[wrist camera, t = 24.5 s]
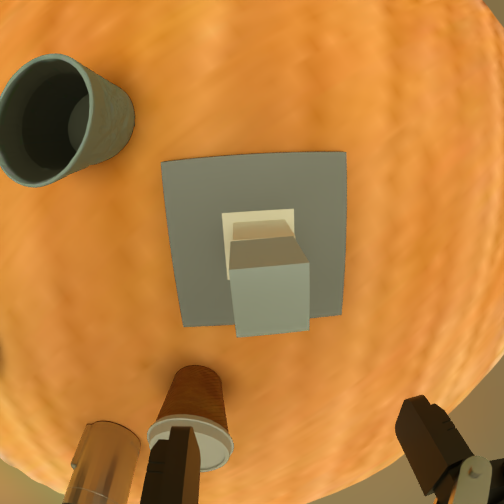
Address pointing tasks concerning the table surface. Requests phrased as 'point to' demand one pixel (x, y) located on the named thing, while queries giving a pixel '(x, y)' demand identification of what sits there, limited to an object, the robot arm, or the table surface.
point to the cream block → (261, 229)
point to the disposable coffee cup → (196, 415)
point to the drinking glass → (60, 120)
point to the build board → (254, 209)
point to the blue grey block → (269, 286)
